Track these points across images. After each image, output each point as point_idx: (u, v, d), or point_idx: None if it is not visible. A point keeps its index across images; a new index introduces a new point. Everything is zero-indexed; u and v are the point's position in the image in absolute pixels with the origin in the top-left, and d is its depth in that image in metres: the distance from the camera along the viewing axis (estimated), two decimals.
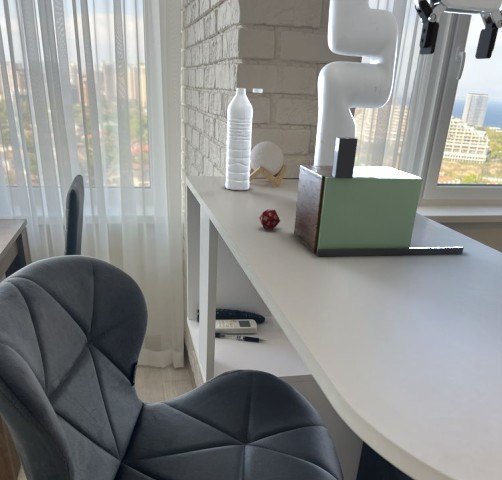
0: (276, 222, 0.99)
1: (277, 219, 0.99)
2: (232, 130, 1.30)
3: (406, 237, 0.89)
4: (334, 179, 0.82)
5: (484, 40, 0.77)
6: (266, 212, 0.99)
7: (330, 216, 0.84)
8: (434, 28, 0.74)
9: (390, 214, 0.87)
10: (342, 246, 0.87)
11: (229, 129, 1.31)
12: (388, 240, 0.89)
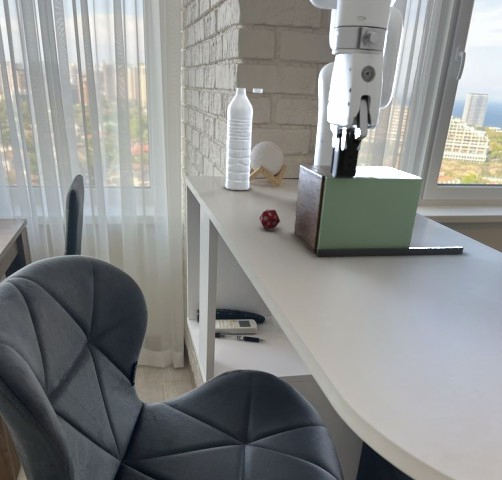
0: (276, 222, 0.99)
1: (277, 219, 0.99)
2: (232, 131, 1.30)
3: (406, 237, 0.89)
4: (334, 179, 0.82)
5: None
6: (266, 212, 0.99)
7: (330, 216, 0.84)
8: (333, 152, 0.81)
9: (390, 214, 0.87)
10: (342, 246, 0.87)
11: (229, 129, 1.31)
12: (388, 240, 0.89)
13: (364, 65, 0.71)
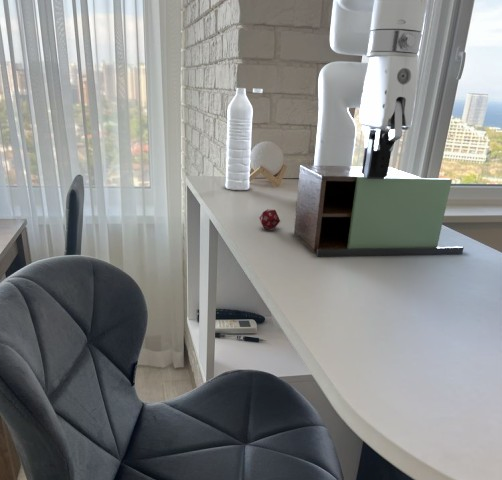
0: (276, 222, 0.99)
1: (277, 219, 0.99)
2: (232, 131, 1.30)
3: (434, 236, 0.90)
4: (366, 180, 0.83)
5: None
6: (266, 212, 0.99)
7: (361, 216, 0.86)
8: (365, 153, 0.82)
9: (419, 214, 0.88)
10: (372, 246, 0.89)
11: (229, 129, 1.31)
12: (416, 240, 0.90)
13: (400, 67, 0.72)
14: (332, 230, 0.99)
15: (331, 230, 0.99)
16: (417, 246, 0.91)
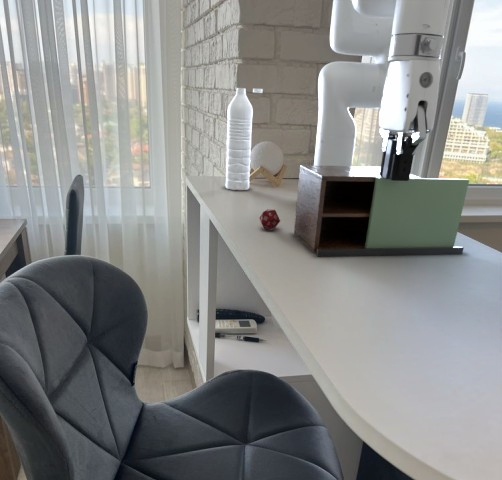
0: (276, 222, 0.99)
1: (277, 219, 0.99)
2: (232, 131, 1.30)
3: (451, 236, 0.91)
4: (384, 180, 0.84)
5: None
6: (266, 212, 0.99)
7: (379, 216, 0.86)
8: (383, 156, 0.83)
9: (436, 214, 0.89)
10: (389, 245, 0.89)
11: (229, 129, 1.31)
12: (433, 239, 0.91)
13: (422, 71, 0.72)
14: (332, 230, 0.99)
15: (331, 230, 0.99)
16: (434, 246, 0.91)
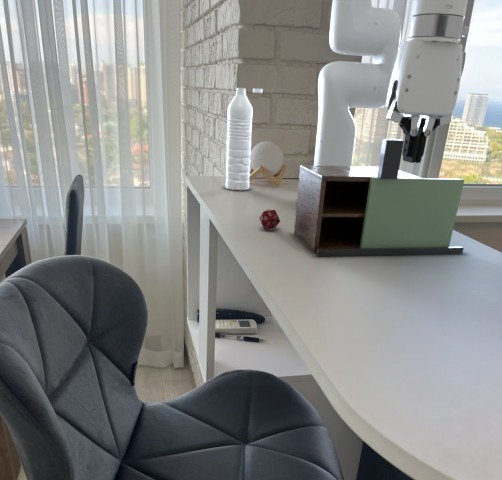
0: (276, 222, 0.99)
1: (277, 219, 0.99)
2: (232, 131, 1.30)
3: (446, 236, 0.91)
4: (379, 180, 0.83)
5: None
6: (266, 212, 0.99)
7: (374, 216, 0.86)
8: (415, 141, 0.80)
9: (432, 214, 0.88)
10: (384, 245, 0.89)
11: (229, 129, 1.31)
12: (428, 239, 0.90)
13: None
14: (332, 230, 0.99)
15: (331, 230, 0.99)
16: (429, 246, 0.91)
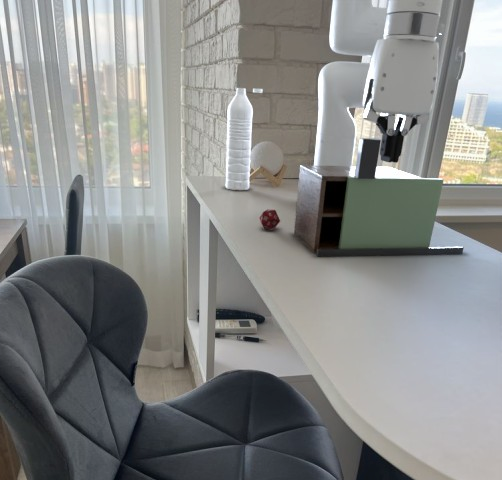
0: (276, 222, 0.99)
1: (277, 219, 0.99)
2: (232, 131, 1.30)
3: (426, 236, 0.90)
4: (357, 179, 0.83)
5: None
6: (266, 212, 0.99)
7: (352, 216, 0.85)
8: (392, 140, 0.79)
9: (411, 214, 0.87)
10: (363, 246, 0.88)
11: (229, 129, 1.31)
12: (408, 240, 0.90)
13: None
14: (332, 230, 0.99)
15: (331, 230, 0.99)
16: (409, 246, 0.90)
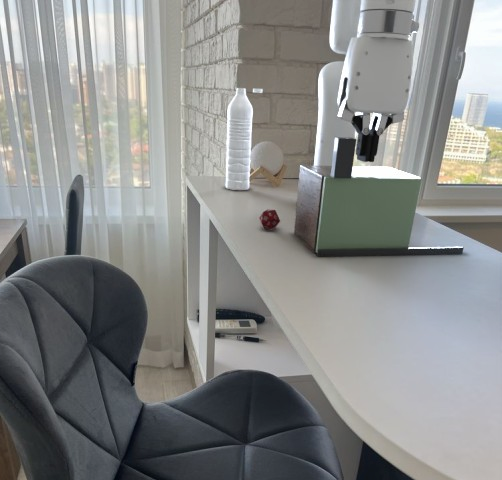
0: (276, 222, 0.99)
1: (277, 219, 0.99)
2: (232, 131, 1.30)
3: (405, 237, 0.89)
4: (333, 179, 0.82)
5: None
6: (266, 212, 0.99)
7: (329, 216, 0.84)
8: (367, 139, 0.79)
9: (389, 214, 0.87)
10: (341, 246, 0.87)
11: (229, 129, 1.31)
12: (386, 240, 0.89)
13: None
14: None
15: None
16: (388, 246, 0.89)
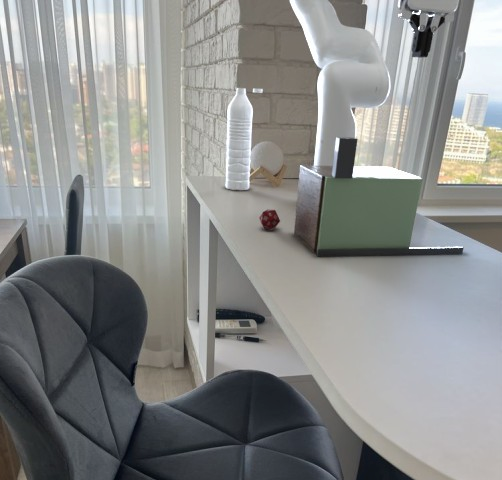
0: (276, 222, 0.99)
1: (277, 219, 0.99)
2: (232, 131, 1.30)
3: (406, 237, 0.89)
4: (334, 179, 0.82)
5: None
6: (266, 212, 0.99)
7: (330, 216, 0.84)
8: (423, 36, 0.93)
9: (390, 214, 0.87)
10: (342, 246, 0.87)
11: (229, 129, 1.31)
12: (387, 240, 0.89)
13: None
14: None
15: None
16: (389, 246, 0.89)
